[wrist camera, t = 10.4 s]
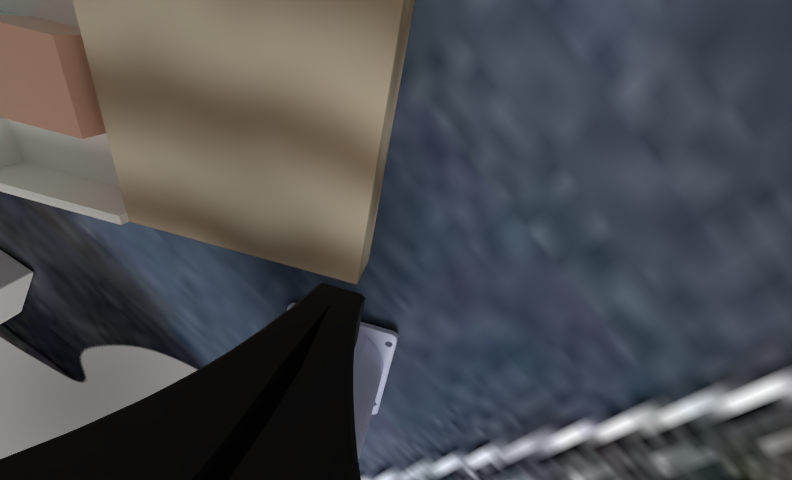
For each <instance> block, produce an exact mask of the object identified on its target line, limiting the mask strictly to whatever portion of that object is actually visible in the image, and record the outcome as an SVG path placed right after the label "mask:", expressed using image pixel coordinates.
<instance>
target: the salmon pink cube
mask: <svg viewBox="0 0 792 480" xmlns="http://www.w3.org/2000/svg"><path fill="white" fill-rule="evenodd" d="M0 114H1V116H2V118H5V119H9V120H12V121H16V122H20V123H24V124H27V125H31V126H35V127H39V128H43V129H46V130H50V131H54V132H58V133H62V134H65V135H69V136H73V137H77V138H80V139H85V138H89V137H93V136H97V135H101V134H105V133H106V130H105V126H104V122H103V118H102V114H101V110H100V106H99V103H98V99H97V95H96V91H95V87H94V83H93V79H92V75H91V71H90V67H89V63H88V59H87V55H86V52H85V48H84V44H83V40H82V36H81V32H80V28H79V27H76V26H72V25H68V24H64V23H60V22H55V21H51V20H47V19H43V18H39V17H35V16H17V15H0Z"/></svg>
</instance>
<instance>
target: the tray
mask: <svg viewBox="0 0 792 480" xmlns="http://www.w3.org/2000/svg"><path fill="white" fill-rule="evenodd" d="M0 10H2V11H6V12H10V13H15V14H19V15H23V16H35V17H39V18H43V19H47V20H51V21H55V22H60V23H64V24H68V25H72V26H76V27H79V24H78V20H77V16H76V12H75V8H74V4H73V1H72V0H0ZM0 191H1V192H5V193H8V194H12V195H15V196H19V197H22V198H26V199H30V200H33V201H37V202H40V203H44V204H48V205H51V206H55V207H58V208H62V209H65V210H69V211H73V212H76V213H80V214H83V215H87V216H91V217H94V218H98V219H101V220H105V221H108V222H112V223H116V224H119V225H123V224H124V223H126V222H128V221H129V220H128V216H127V212H126V208H125V204H124V201H123V197H122V193H121V189H120V185H119V181H118V177H117V173H116V169H115V165H114V161H113V157H112V153H111V150H110V146H109V142H108V138H107V134H106V133H105V134H101V135H97V136H93V137H89V138H85V139H80V138H77V137H73V136H69V135H65V134H62V133H58V132H54V131H50V130H46V129H43V128H39V127H35V126H31V125H27V124H24V123H20V122H16V121H12V120H9V119H5V118H1V119H0Z"/></svg>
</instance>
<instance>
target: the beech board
mask: <svg viewBox="0 0 792 480" xmlns="http://www.w3.org/2000/svg"><path fill="white" fill-rule="evenodd" d="M72 1H73V4H74V8H75V12H76V16H77V20H78V24H79V28H80V32H81V36H82V40H83V44H84V48H85V52H86V55H87V59H88V63H89V67H90V71H91V75H92V79H93V83H94V87H95V91H96V95H97V99H98V103H99V106H100V110H101V114H102V118H103V122H104V126H105V130H106V134H107V138H108V142H109V146H110V150H111V153H112V157H113V161H114V165H115V169H116V173H117V177H118V181H119V185H120V189H121V193H122V197H123V201H124V204H125V208H126V212H127V216H128V220H129V221H130V222H133V223H137V224H140V225H144V226H148V227H151V228H155V229H158V230H162V231H166V232H169V233H173V234H176V235H180V236H184V237H187V238H191V239H194V240H198V241H202V242H205V243H209V244H212V245H216V246H220V247H223V248H227V249H230V250H234V251H238V252H241V253H245V254H248V255H252V256H256V257H259V258H263V259H266V260H270V261H274V262H277V263H281V264H284V265H288V266H292V267H295V268H299V269H302V270H306V271H310V272H313V273H317V274H320V275H324V276H328V277H331V278H335V279H338V280H342V281H346V282H349V283H353V284H356V285H357V284H358V282H359V280H360V278H361V275H362V273H363V271H364V269H365V267H366V265H367V263H368V261H369V256H370V250H371V245H372V239H373V233H374V228H375V222H376V217H377V211H378V205H379V200H380V194H381V188H382V183H383V177H384V172H385V166H386V160H387V155H388V149H389V143H390V138H391V132H392V127H393V121H394V115H395V110H396V104H397V98H398V93H399V87H400V82H401V76H402V70H403V65H404V59H405V53H406V48H407V42H408V37H409V31H410V25H411V20H412V14H413V8H414V3H415V0H72Z"/></svg>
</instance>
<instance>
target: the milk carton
mask: <svg viewBox="0 0 792 480" xmlns="http://www.w3.org/2000/svg"><path fill="white" fill-rule="evenodd" d="M32 276H33V272H32V271H31V270H30V269H28V268H27V267H25V266H24V265H22V264H21V263H19V262H18V261H16V260H15V259H13V258H12V257H11V256H9V255H8V254H6V253H5V252H3V251H2V250H0V324H1V323H3V322H5V321H7V320H8V319H10V318H12V317H13V316H15V315H17V314H18V313H20V312H21V311H22V308H23V305H24V302H25V299H26V295H27V292H28V289H29V286H30V283H31V280H32Z"/></svg>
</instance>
